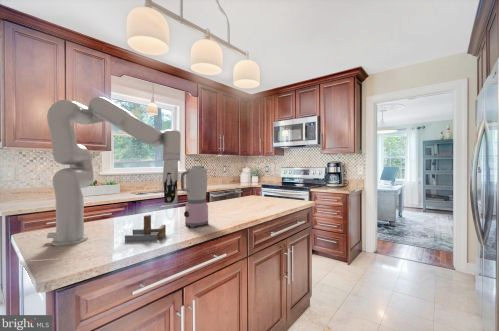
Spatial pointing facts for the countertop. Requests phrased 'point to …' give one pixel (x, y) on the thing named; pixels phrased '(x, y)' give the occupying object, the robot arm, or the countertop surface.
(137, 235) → the channel
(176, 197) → the beverage can
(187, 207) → the blender
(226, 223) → the countertop surface
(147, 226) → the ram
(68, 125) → the robot arm
